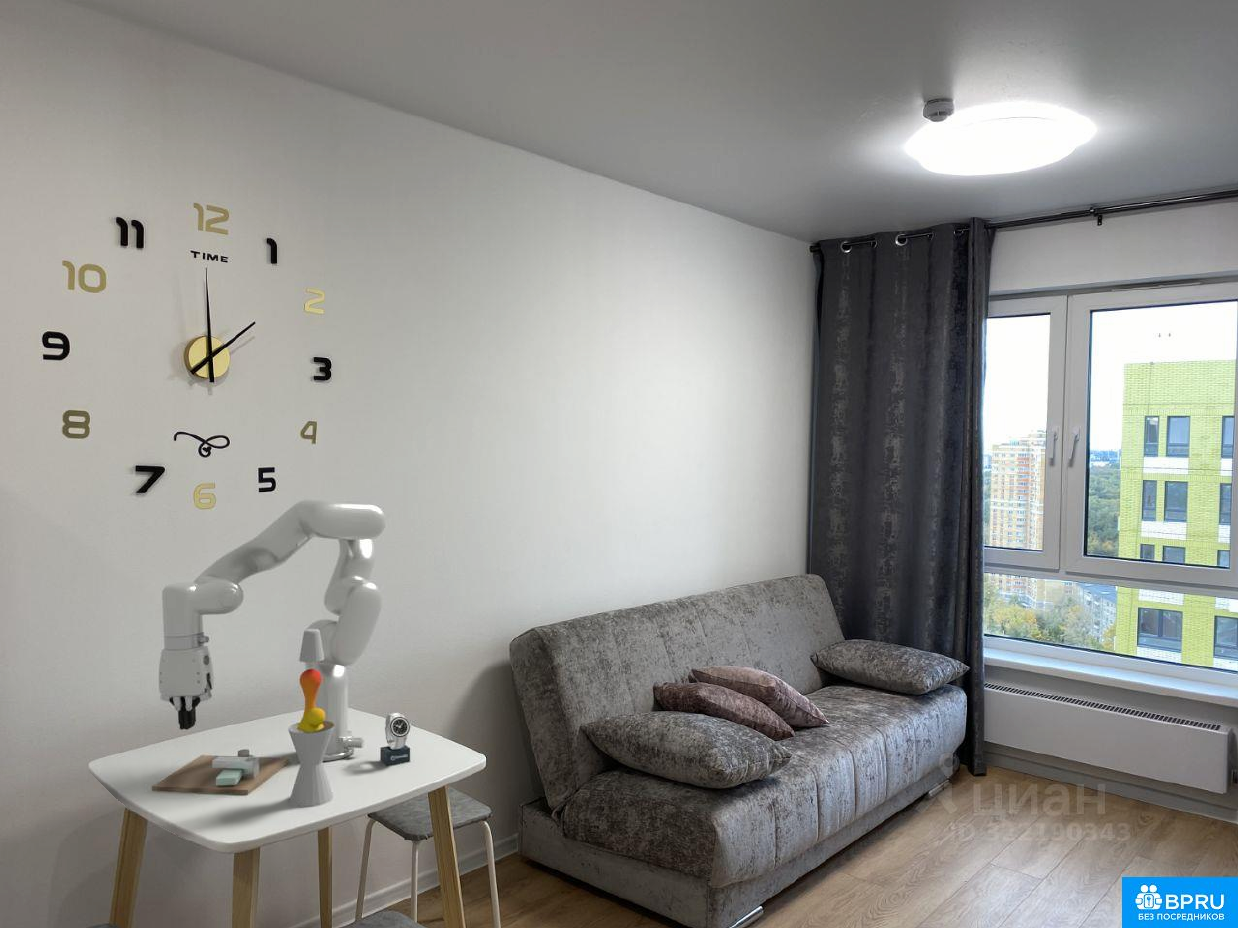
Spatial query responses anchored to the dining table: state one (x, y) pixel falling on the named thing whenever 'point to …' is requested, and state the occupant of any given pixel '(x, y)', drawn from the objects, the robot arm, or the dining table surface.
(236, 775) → the link
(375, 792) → the dining table surface
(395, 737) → the watch
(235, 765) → the keeper
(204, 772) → the board
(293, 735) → the lava lamp
